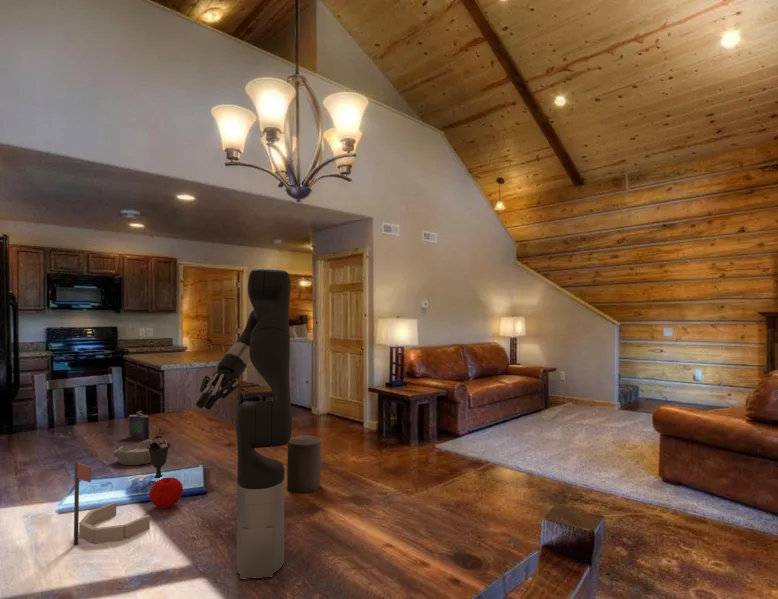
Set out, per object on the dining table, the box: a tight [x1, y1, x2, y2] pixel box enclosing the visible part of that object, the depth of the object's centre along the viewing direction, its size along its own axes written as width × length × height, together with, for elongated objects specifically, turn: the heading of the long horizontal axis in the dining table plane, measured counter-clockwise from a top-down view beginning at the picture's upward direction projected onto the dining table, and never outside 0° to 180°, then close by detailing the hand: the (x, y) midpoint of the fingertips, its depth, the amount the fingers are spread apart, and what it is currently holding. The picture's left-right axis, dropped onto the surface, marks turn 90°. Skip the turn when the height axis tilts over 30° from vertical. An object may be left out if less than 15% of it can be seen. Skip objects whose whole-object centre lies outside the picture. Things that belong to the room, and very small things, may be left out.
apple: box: [148, 477, 184, 509], centre depth 117 cm, size 8×8×7 cm
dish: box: [113, 439, 153, 466], centre depth 154 cm, size 14×14×5 cm
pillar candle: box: [286, 434, 322, 494], centre depth 131 cm, size 10×10×15 cm
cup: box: [73, 461, 151, 546], centre depth 104 cm, size 13×15×18 cm
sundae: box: [147, 427, 172, 478], centre depth 136 cm, size 7×7×15 cm
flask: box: [127, 410, 150, 440], centre depth 180 cm, size 9×3×11 cm, turn 76°
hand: (202, 407), depth 127 cm, fingers open, 3 cm apart
